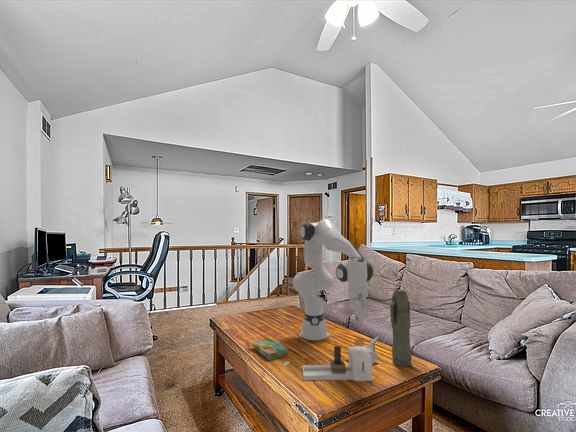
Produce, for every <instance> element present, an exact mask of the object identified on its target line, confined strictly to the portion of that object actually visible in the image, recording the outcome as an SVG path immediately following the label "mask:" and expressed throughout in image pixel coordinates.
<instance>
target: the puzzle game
mask: <svg viewBox="0 0 576 432" xmlns="http://www.w3.org/2000/svg"><path fill="white" fill-rule="evenodd" d="M250 345H251V346H252V347H253V348H254V350H255V351H256V352H257V353H259V354H261V356H263V357H264V358H265V359H267V360H269V361H272V360H275V359H279V358H283V357H285V356H286V355H287V354H288V352H289V351H288V350H289V349H288V348H286V347H285V346H283V345H282V344H280V343H279V342H277V341H275V340H273V339H271V338H270V337H269V338H265V339H264V338H263V339H260V340H255V341H252V342H250Z"/></svg>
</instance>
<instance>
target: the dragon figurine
mask: <svg viewBox="0 0 576 432" xmlns="http://www.w3.org/2000/svg"><path fill="white" fill-rule="evenodd" d="M380 337H381V336H380V335H378V336H376V337H374V339H371V341H370V342H369V344H368V345H367V347H366V349H367V351H368V352H369V354H370V355H371V357H372V365H375V362H379V356H378V354H377V353H376V343H377V342H378V339H379V338H380ZM353 347H364V346H356V345H355V344H354V346H353ZM346 354H347V355H348V348H347V349H346ZM347 358H348V359H349V356H347Z"/></svg>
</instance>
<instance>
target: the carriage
mask: <svg viewBox="0 0 576 432" xmlns="http://www.w3.org/2000/svg"><path fill="white" fill-rule="evenodd" d="M333 348H334V349H333V357H334V359H329V361H330V363H329V365H330V366H331V367H332V373H346V366H345V365H346V364H345V361H344V359H342V351H341V350H342V347H341V346H340V345H335V346H333Z"/></svg>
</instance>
